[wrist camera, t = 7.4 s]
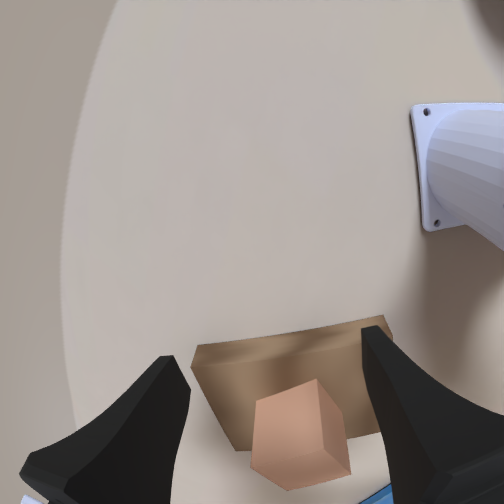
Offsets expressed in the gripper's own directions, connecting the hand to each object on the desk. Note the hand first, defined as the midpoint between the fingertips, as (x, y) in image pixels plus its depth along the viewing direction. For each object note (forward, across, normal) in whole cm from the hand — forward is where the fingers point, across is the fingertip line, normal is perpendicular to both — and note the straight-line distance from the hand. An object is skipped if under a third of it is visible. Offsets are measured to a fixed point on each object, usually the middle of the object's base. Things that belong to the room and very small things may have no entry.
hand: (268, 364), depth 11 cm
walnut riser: (+9, 0, +12) cm, 15 cm away
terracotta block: (+7, 0, +12) cm, 14 cm away
